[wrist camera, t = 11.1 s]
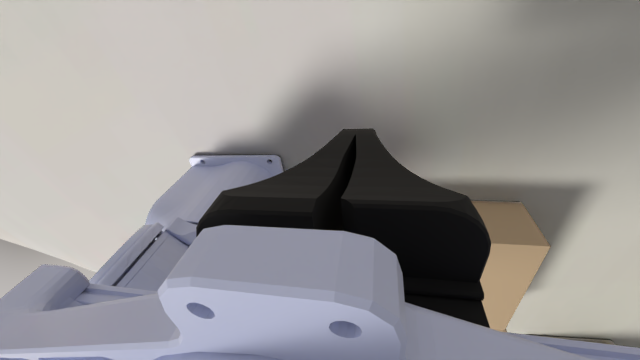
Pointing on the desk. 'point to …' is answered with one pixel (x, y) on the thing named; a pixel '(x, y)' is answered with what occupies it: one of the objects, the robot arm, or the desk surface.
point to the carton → (509, 258)
